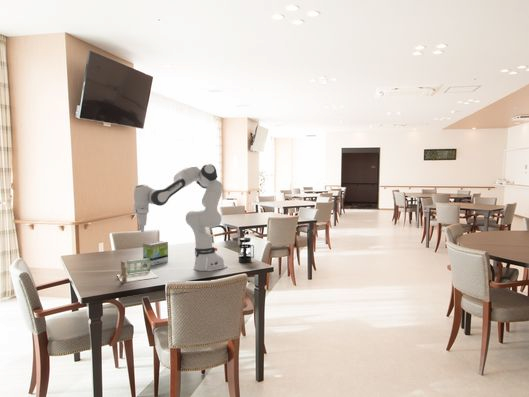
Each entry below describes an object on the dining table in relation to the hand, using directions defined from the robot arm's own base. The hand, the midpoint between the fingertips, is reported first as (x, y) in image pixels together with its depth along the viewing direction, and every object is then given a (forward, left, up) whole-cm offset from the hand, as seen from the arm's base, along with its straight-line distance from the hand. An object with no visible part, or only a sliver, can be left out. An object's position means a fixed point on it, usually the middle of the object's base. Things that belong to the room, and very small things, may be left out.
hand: (141, 231), depth 239 cm
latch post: (+14, +18, -27) cm, 35 cm away
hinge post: (+13, +3, -27) cm, 30 cm away
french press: (-69, +11, -27) cm, 75 cm away
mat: (+6, +10, -27) cm, 29 cm away
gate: (+3, +3, -26) cm, 26 cm away
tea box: (-13, -21, -27) cm, 37 cm away
